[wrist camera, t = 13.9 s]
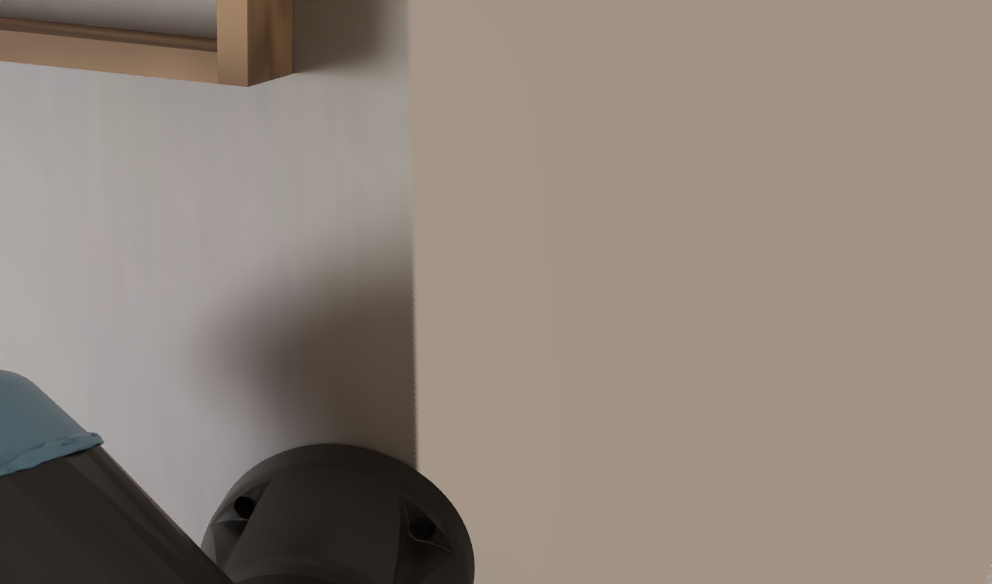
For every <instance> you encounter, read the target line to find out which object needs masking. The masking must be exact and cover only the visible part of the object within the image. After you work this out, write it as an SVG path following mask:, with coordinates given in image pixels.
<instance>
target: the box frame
mask: <svg viewBox="0 0 992 584" xmlns="http://www.w3.org/2000/svg"><path fill="white" fill-rule="evenodd" d="M216 3H217V39H209V38H199V37H190V36H180V35H170V34H161V33H151V32H141V31H132V30H122V29H112V28H103V27H93V26H83V25H74V24H64V23H55V22H45V21H35V20H26V19H16V18H6V17H0V61H7V62H17V63H26V64H36V65H45V66H55V67H64V68H74V69H83V70H93V71H102V72H112V73H121V74H131V75H140V76H150V77H159V78H169V79H178V80H188V81H197V82H207V83H216V84H226V85H235V86H245V87H249V86H252V85H256V84H259V83H262V82H266V81H269V80H273V79H276V78H280V77H283V76H287V75H290V74H292V54H293V0H216Z"/></svg>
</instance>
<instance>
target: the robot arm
mask: <svg viewBox="0 0 992 584" xmlns="http://www.w3.org/2000/svg"><path fill="white" fill-rule="evenodd" d="M103 443H104V441H103V439H102V438H101V437H100V436H99V435H98V434H97V433H90V432H87V431H86V430H84V429H83V428H82V427H81V426H80V425H79V424H78V423H77V422H76V421H74V420H73V419H72V418H71V417H70V416H69V415H68V414H67V413H66V412H65V411H63V410H62V409H61V408H60V407H59V406H58V405H57V404H56V403H55V402H54V401H52V400H51V399H50V398H49V397H48V396H47V395H46V394H45V393H44V392H43V391H42V390H41V389H40V388H38V387H37V386H36V385H35V384H34V383H33V382H31V381H30V380H28V379H27V378H25V377H23V376H21V375H19V374H16V373H13V372H10V371H5V370H0V584H473V582H474V570H475V568H474V554H473V549H472V544H471V541H470V537H469V534H468V532H467V529H466V527H465V525H464V523H463V521H462V519H461V517H460V515H459V514H458V512H457V510H456V509H455V508H454V506H453V505H452V503H451V502H450V501H449V500H448V498H447V497H446V496H445V495H444V494H443V493H442V492H441V491H440V490H439V489H438V488H437V487H436V486H435V485H434V484H433V483H432V482H430V481H429V480H428V479H427V478H426V477H424V476H423V475H421V474H420V473H419V472H417V471H416V470H414V469H413V468H411V467H409V466H408V465H406V464H404V463H402V462H400V461H398V460H396V459H394V458H391V457H389V456H386V455H384V454H381V453H378V452H374V451H371V450H367V449H363V448H358V447H352V446H344V445H315V446H306V447H301V448H296V449H292V450H289V451H285V452H283V453H280V454H277V455H275V456H273V457H270V458H268V459H266V460H264V461H263V462H261V463H259V464H258V465H256V466H255V467H253V468H252V469H251V470H249V471H248V472H247V473H246V474H244V475H243V476H242V477H241V478H240V479H239V480H238V481H237V482H236V483H235V484H234V486H233V487H232V488H231V490H230V491H229V492H228V494H227V495H226V497H225V499H224V500H223V502H222V503H221V505H220V506H219V508H218V509H217V511H216V512H215V514H214V516H213V517H212V519H211V521H210V523H209V525H208V527H207V530H206V532H205V535H204V538H203V541H202V544H201V549H200V548H199V547H198V546H197V545H196V544H195V543H194V542H193V541H192V539H191V538H190V537H189V536H188V535H187V534H186V533H185V532H184V531H183V530H182V529H181V528H180V527H179V526H178V525H177V524H176V523H175V522H174V521H173V520H172V519H171V518H170V517H169V516H168V515H167V514H166V513H165V512H164V511H163V510H162V509H161V508H160V506H159V505H158V504H157V503H156V502H155V501H154V500H153V499H152V498H151V497H150V496H149V495H148V494H147V493H146V492H145V491H144V490H143V489H142V488H141V487H140V486H139V485H138V484H137V483H136V482H135V481H134V480H133V479H132V478H131V477H130V476H129V475H128V473H127V472H126V471H125V470H124V469H123V468H122V467H121V466H120V465H119V464H118V463H117V462H116V461H115V460H114V459H113V458H112V457H111V456H110V455H109V454H108V453H107V452H106V451H105V450H104V449H103V448H102V447H101V446H100V445H101V444H103ZM985 584H992V565H991V568H990V571H989V574H988V577H987V580H986V583H985Z"/></svg>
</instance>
